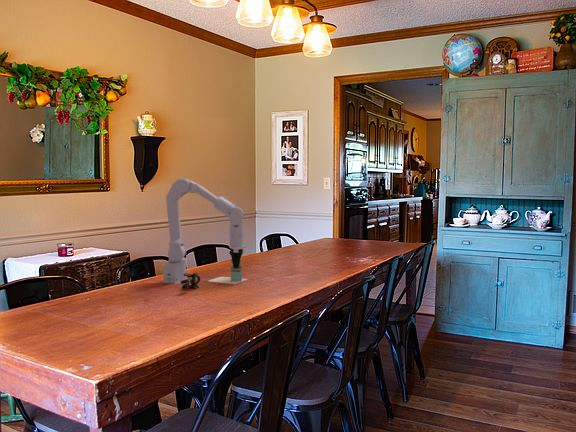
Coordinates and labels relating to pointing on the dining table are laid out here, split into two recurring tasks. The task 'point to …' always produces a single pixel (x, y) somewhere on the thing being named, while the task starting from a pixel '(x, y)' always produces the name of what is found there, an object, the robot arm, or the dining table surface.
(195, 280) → the toy
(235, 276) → the teal block
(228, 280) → the plate
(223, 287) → the dining table surface
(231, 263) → the maple block
